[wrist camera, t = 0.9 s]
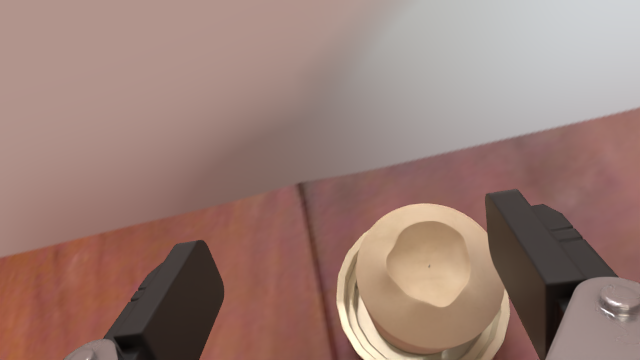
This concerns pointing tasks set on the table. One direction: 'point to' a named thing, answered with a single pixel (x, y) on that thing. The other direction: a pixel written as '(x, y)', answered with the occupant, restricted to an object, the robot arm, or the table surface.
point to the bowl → (381, 355)
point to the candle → (428, 278)
